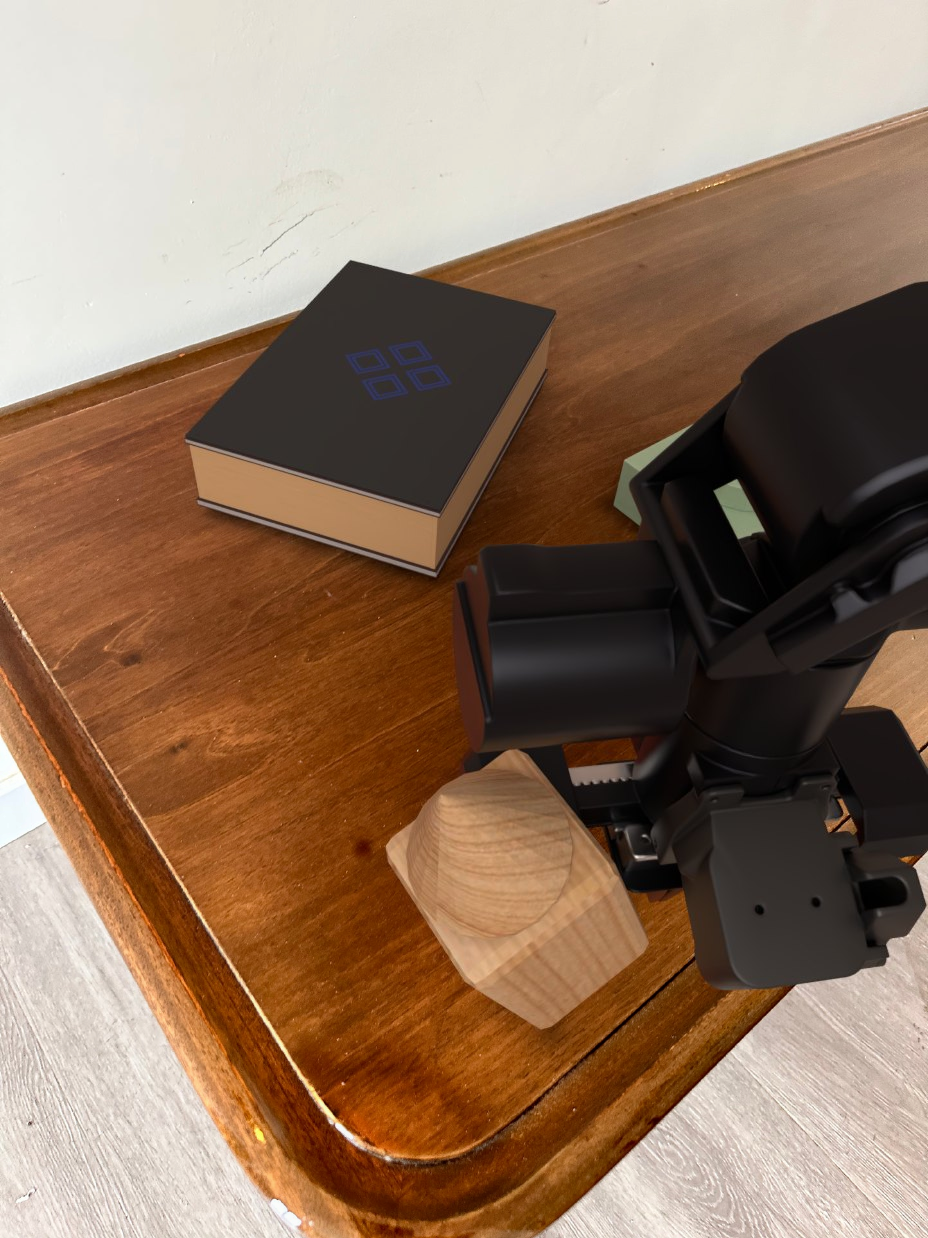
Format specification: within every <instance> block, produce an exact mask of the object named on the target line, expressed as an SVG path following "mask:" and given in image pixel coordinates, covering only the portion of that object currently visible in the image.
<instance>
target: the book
mask: <svg viewBox="0 0 928 1238" xmlns="http://www.w3.org/2000/svg"><path fill="white" fill-rule="evenodd" d="M556 315H557V310H556V309H552V308H549V307H545V306H540V305H537V304H533V303H528V302H524V301H519V300H517V299H512V298H509V297H508V298H507V297H504V296H500V295H497V294H496V295H495V294H492V293H488V292H484V291H480V290H475V289H470V288H467V287H463V286H458V285H455V284H450V283H446V282H443V281H439V280H434V279H430V278H426V277H422V276H418V275H414V274H409V273H407V272H402V271H397V270H393V269H389V268H386V267H381V266H377V265H373V264H369V263H365V262H361V261H357V260H353V259H349V260H348V262H347V263H346V264H345V265H343V267H342V268H340V270H339V271H338V272H337V273H336V274H335V275H334V276H333V277H332V279H330V280H329V282H328V283H327V284H326V285H325V286H324V287H323V288H322V289H321V290H320V291H319V292H318V293H317V295H315V297H313V298H312V300H311V301H310V302H309V303H308V304H307V305H306V306H305V307H304V308H303V309H302V311H300V312H299V314H297V316H296V317H295V318H294V319H293V320H291V322H290V323H289V324H288V325H287V326H286V327H285V329H283V331H281V333H280V334H279V335H278V336H277V337H276V338H275V339H274V340H273V342H271V343H270V344H269V346H268V347H267V348H266V349H265V350H264V351H263V352H262V353H260V355H259V356H258V357H257V358H256V359H255V360H254V361H253V362H252V363H251V364H250V365H249V366H248V368H247V369H246V370H245V371H243V373H242V374H241V375H240V376H239V377H238V378H237V379H236V380H235V381H234V382H233V384H232V385H231V386H229V388H227V390H226V391H225V392H224V393H223V394H222V395H221V396H220V397H219V398H218V400H216V401H215V403H214V404H213V405H212V406H211V407H210V408H209V409H208V410H207V411H206V412H205V413H204V414H203V415H202V417H200V418H199V420H197V422H196V423H195V424H194V425H193V426H192V427H191V428H190V429H188V431H187V432H186V433H185V435H184V438H183V439H184V440H185V443H184V444H185V445H188V447H189V452H190V458H191V463H192V467H193V473H194V479H195V484H196V489H197V494H198V496H197V497H196V501H197V503H196V504H197V506H200V507H203V508H206V509H209V510H212V511H216V512H218V513H223V514H225V515H229V516H232V517H235V518H237V519H238V518H239V519H241V520H244V521H248V522H251V523H255V524H258V525H262V526H265V527H268V528H271V529H275V530H278V531H281V532H284V533H287V534H291V535H294V536H296V537H300V538H304V539H307V540H310V541H313V542H317V543H319V544H322V545H323V544H324V545H326V546H329V547H333V548H336V549H339V550H341V551H346V552H349V553H353V554H356V555H359V556H363V557H366V558H368V559H372V560H376V561H379V562H381V563H386V564H388V565H392V566H395V567H399V568H401V569H405V570H408V571H410V572H411V571H412V572H414V573H418V574H421V575H424V576H427V577H431V578H433V579H437V578H438V576H439V575H440V572H441V570H442V569H443V567H444V565H445V563H446V561H447V560H448V558H449V556H450V554H451V553H452V550H453V549H454V547H455V545H456V543H457V541H458V540H459V538H460V536H461V534H462V532H463V530H464V528H465V527H466V524H467V523H468V521H469V519H470V518H471V516H472V514H473V513H474V510H475V508H476V506H477V505H478V503H479V501H480V499H481V498H482V495H484V492H485V490H486V488H487V486H488V484H489V483H490V481H491V479H492V477H493V476H494V474H495V472H496V470H497V468H498V466H499V465H500V463H501V461H502V459H503V457H504V456H505V453H506V451H507V449H509V446H510V445H511V442H512V441H513V439H514V437H515V435H516V434H517V431H518V430H519V428H520V426H521V424H522V422H523V420H524V419H525V418H526V417H525V416H526V415H527V413H528V412H529V410H530V408H531V406H532V404H533V402H534V400H535V399H536V397H537V395H538V393H539V391H540V389H541V387H542V386H543V384H544V382H545V380H546V379H547V376H548V371H549V368H547V363H548V356H549V347H550V341H551V334H552V328H553V323H554V322H555V320H556V319H557V316H556Z"/></svg>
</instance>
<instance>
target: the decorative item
mask: <svg viewBox="0 0 928 1238" xmlns="http://www.w3.org/2000/svg"><path fill="white" fill-rule="evenodd" d="M385 852H386V858H387V862H388V864H389V865H390V867H391V869H392V871H394V873H395V875H396V877H397V878H398V879H399V880H400V883H401V884H402V886H403V887H404V889H405V891H406V892H407V893H408V895H409V896H410V898H411V900H412V901H413V903H414V904H415V906H416V908H417V909H418V912H419V913H420V914H421V916H422V917H423V919H424V920H425V922H426V924H427V925H428V926H429V928H430V930H431V931H432V932H433V934H434V936H435V938H436V939H437V940H438V942H439V944H440V946H441V947H442V948H443V950H444V952H445V953H446V955H447V956H448V958H449V959H450V961H451V962H452V964H453V965H454V967H455V969H456V970H457V972H458V973H459V975H460V976H461V978H462V980H463V981H464V982H465V983H466V984H468V985H469V986H470V987H472V988H474V989H475V990H477V991H478V992H479V993H481V994H483V995H485V996H486V997H488V998H489V999H490V1000H493V1001H494V1002H495V1003H497V1004H499V1005H501V1006H502V1007H504V1008H506V1009H507V1010H508V1011H510V1012H512V1013H514V1014H515V1015H517V1016H518V1017H520V1018H522V1019H523V1020H525V1021H526V1022H528V1023H529V1024H531V1025H533V1026H534V1027H536V1028H537V1029H539V1030H543V1029H548V1028H552V1027H553V1026H555V1025H556V1024H557V1023H558V1022H559V1021H560V1020H562V1019H563V1018H565V1017H566V1016H567V1015H568V1014H569V1013H571V1012H572V1011H573V1010H574V1009H576V1008H577V1007H578V1006H579V1005H581V1004H582V1003H583V1002H584V1001H586V1000H587V999H588V998H590V997H591V996H592V995H593V994H594V993H596V992H597V991H598V990H599V989H600V988H602V987H603V986H604V985H606V984H607V983H608V982H609V981H611V980H612V979H613V978H614V977H616V976H617V975H618V974H620V973H621V971H623V970H625V969H626V967H628V966H629V965H631V964H632V963H633V962H634V961H636V960H637V959H638V958H639V957H640V956H642V955H643V954H644V953H645V952H646V949H647V948H648V946H649V944H650V942H649V938H648V933H647V931H646V929H645V927H644V924H643V922H642V920H641V918H640V916H639V914H638V911H637V908H636V907H635V905H634V903H633V900H632V898H631V896H630V894H629V891H628V890H627V889H626V887H625V885H624V882H623V880H622V878H621V876H620V874H619V871H618V869H617V867H616V865H615V863H614V862H613V860H612V859H611V856H610V854H608V853H607V852H606V850H605V849H604V847H602V845H601V844H600V843H599V841H598V840H597V839H596V838H595V836H594V835H593V834H592V833H591V831H590V829H589V828H586V827H585V825H584V824H583V823H582V822H581V820H580V819H579V818H578V817H577V815H576V814H575V813H574V812H573V810H572V809H571V808H570V807H569V805H568V804H567V803H566V802H565V800H564V799H563V798H562V797H561V795H560V794H559V793H558V792H557V790H556V789H555V788H554V787H553V785H552V784H551V783H550V782H549V780H548V779H547V778H546V777H545V775H544V774H543V773H542V772H541V770H540V769H539V768H538V767H537V765H536V764H535V763H534V762H533V760H532V759H531V758H530V757H529V755H528V754H526V753H524V752H522V751H520V750H518V749H513V750H508V751H506V752H504V753H502V754H501V755H500V756H498V757H497V758H496V759H494V760H493V761H492V762H491V763H489V764H488V765H487V766H485V767H484V768H483V769H481V770H480V771H476V772H471V773H466V774H463V775H462V776H460V777H459V776H458V777H457V778H455V779H453V780H450V781H449V782H447V783H445V784H444V785H442V786H440V788H439V789H437V791H436V792H435V793H434V794H433V795H432V796H431V797H430V798H429V799H428V800H427V801H426V802H425V803H424V804H423V806H422V808H421V809H420V811H419V813H418V815H417V816H416V818H415V819H414V820H413V821H411V822H410V823H409V824H407V826H405V827H404V828H402V829H401V830H399V832H397V833H396V834H394V835H393V836H391V838H390V839H389V841H388V842H387V844H386V845H385Z"/></svg>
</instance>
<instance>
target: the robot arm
mask: <svg viewBox="0 0 928 1238" xmlns="http://www.w3.org/2000/svg"><path fill="white" fill-rule="evenodd" d="M692 424H693V425H692ZM692 424H691V425H692V426H691V427H690V428H689V429H687V430H686V431H685V432H684V433H683V434H682V435H681V436H679V437H678V438H677V439H676V440H675V441H674V442H673V443H672V444H670V445H669V446H668V447H667V448H666V449H665V450H664V451H662V452H661V453H660V454H659V455H658V456H657V457H656V458H655V459H653V460H652V461H651V462H650V463H649V464H648V465H647V466H646V467H644V468H643V469H642V470H641V471H640V472H639V473H638V474H636V475H635V476H634V477H633V478H632V479H631V480H630V482H629V490H630V492H631V494H632V497H633V499H634V502H635V504H636V507H637V509H638V511H639V514H640V516H641V519H642V520H641V523H640V526H639V527H638V530H637V535H636V537H635V540H632V541H631V540H629V541H617V542H616V541H614V542H600V543H599V542H598V543H584V544H569V545H541V544H535V543H507V544H505V543H504V544H491V545H490V544H489V545H485V546H483V547H482V548H481V549H480V550H479V551H478V556H477V563H476V564H472V565H471V564H470V565H466V566H465V568H464V569H463V571H462V575H461V578H460V580H455V581H454V584H453V591H452V646H453V661H454V671H455V680H456V688H457V695H458V701H459V708H460V714H461V719H462V723H463V728H464V731H465V735H466V737H467V740H468V743H469V746H470V747H469V748H468V750H467V751H466V753H465V754H464V755H463V757H462V758H461V759H460V762H459V771H458V772H459V773H458V777H460V776H462V775H463V774H466V773H471V772H476V771H480V770H481V769H483V768H484V767H485V766H487V765H488V764H489V763H491V762H492V761H493V760H494V759H496V758H497V757H498V756H500V755H501V754H502V753H504V752H506V751H508V750H513V749H518V750H520V751H522V752H524V753H526V754H528V755H529V757H530V758H531V759H532V760H533V762H534V763H535V764H536V765H537V767H538V768H539V769H540V770H541V772H542V773H543V774H544V775H545V777H546V778H547V779H548V780H549V782H550V783H551V784H552V785H553V787H554V788H555V789H556V790H557V792H558V793H559V794H560V795H561V797H562V798H563V799H564V800H565V802H566V803H567V804H568V805H569V807H570V808H571V809H572V810H573V812H574V813H575V814H576V815H577V817H578V818H579V819H580V820H581V822H582V823H583V824H584V825H585V827H586V828H587V829H593V828H602V831H603V835H604V839H605V841H606V844H607V849H608V852H609V857H610V858H611V859H612V860H613V862H614V863H615V865H616V867H617V869H618V871H619V874H620V876H621V878H622V880H623V882H624V885H625V887H626V889H627V891H628V892H630V893H633V894H639V895H640V894H645V895H646V898H647V901H648V903H657V902H659V903H660V902H666V901H668V900H670V899H672V898H674V897H675V896H678V895H679V894H681V893H683V895H684V900H685V905H686V909H687V915H688V919H689V920H688V921H689V924H690V929H691V935H692V939H693V944H694V945H693V946H694V951H693V953H694V959H695V963H696V967H697V969H698V972H699V973H700V975H701V977H702V979H703V980H704V981H705V982H706V983H707V984H708V985H709V986H711V987H712V988H715V989H717V990H721V991H746V990H747V991H748V990H752V991H753V990H755V991H756V990H769V989H770V990H771V989H777V988H783V987H784V988H785V987H790V986H798V985H804V984H811V983H817V982H818V983H819V982H824V981H833V980H839V979H845V978H850V977H852V976H854V975H856V974H857V973H859V972H860V971H862V970H866V969H867V970H868V969H872V968H880V967H884V966H885V965H886V963H887V961H888V958H889V959H890V953H889V949H888V946H887V944H888V942H889V941H890V940H892V939H900V938H904V937H907V936H908V935H909V934H910V932H911V931H912V930H913V928H914V926H915V925H916V924H917V922H918V921H919V920H920V918H921V917H922V915H923V913H924V912H925V910H926V908H927V901H926V898H925V895H924V892H923V888H922V885H921V881H920V878H919V874H918V871H917V869H916V867H914V866H913V865H912V864H909V863H908V862H906V861H904V860H902V859H903V858H911V857H918V856H924V855H925V854H926V853H927V852H928V766H927V764H926V763H925V761H924V759H923V757H922V756H921V754H920V752H919V750H918V748H917V747H916V745H915V743H914V741H913V740H912V738H911V736H910V734H909V732H908V731H907V729H906V727H905V726H904V724H903V722H902V720H901V719H900V718H899V717H898V715H897V714H896V713H895V712H894V711H893V709H890V708H888V707H882V706H879V705H875V704H870V705H860V706H850V707H846V706H847V705H848V703H849V702H850V700H851V698H852V697H853V696H854V693H855V692H856V690H857V688H858V687H859V685H860V683H861V682H862V680H863V679H864V676H866V674H867V672H868V671H869V669H870V667H871V665H872V664H873V662H874V660H875V659H876V657H877V656H878V654H879V653H880V651H881V649H882V648H883V646H884V645H885V643H886V641H887V640H888V638H889V637H890V636H891V635H893V634H894V633H897V632H903V631H915V630H926V629H928V280H924V281H917V282H913V283H909V284H906V285H904V286H901V287H899V288H897V289H894V290H891V291H890V292H887V293H885V294H882V295H879V296H877V297H875V298H872V299H869V300H867V301H865V302H862V303H859V304H857V305H855V306H852V307H850V308H847V309H844V310H841V311H840V312H836V313H835V314H832V315H829V316H826V317H825V318H822V319H820V320H817V321H815V322H812V323H810V324H807V325H805V326H803V327H801V328H799V329H797V330H795V331H793V332H790V333H788V334H787V335H786V336H784V337H783V338H781V339H780V340H778V341H777V342H776V343H774V344H773V345H771V346H770V347H769V348H767V349H766V350H765V351H763V352H762V353H760V354H759V355H758V356H757V357H756V358H755V359H754V360H753V361H752V362H751V363H750V364H749V365H748V366H747V367H746V368H745V369H744V370H743V372H742V373H741V374H740V381H739V383H738V384H736V386H735V387H733V388H732V390H730V391H729V392H728V393H727V394H726V395H725V396H724V397H722V398H721V399H720V400H719V401H718V402H717V403H715V404H714V405H713V406H712V407H711V408H710V409H709V410H708V411H706V413H704V414H703V415H702V416H700V417H699V418H698V419H697V420H696V421H695V422H694V423H692ZM736 479H737V480H738V482H739V484H740V486H741V488H742V489H743V491H744V493H745V495H746V497H747V499H748V501H749V503H750V504H751V506H752V508H753V510H754V512H755V514H756V516H757V518H758V519H759V521H760V523H761V525H762V527H763V529H764V531H762V532H755V533H752V534H751V536H746V537H743V538H740V539H738V538H737V536H736V534H735V532H734V530H733V528H732V526H731V524H730V522H729V520H728V518H727V516H726V514H725V512H724V510H723V508H722V506H721V504H720V502H719V500H718V498H717V496H716V494H715V492H714V490H716V489H718V488H720V487H722V486H724V485H726V484H728V483H730V482H732V481H734V480H736ZM623 739H625V740H626V739H630V741H631V744H632V746H633V749H634V753H635V755H636V758H633V759H624V760H615V761H613V760H612V761H605V762H599V763H597V764H594V765H586V766H578V767H577V766H575V767H569V765H568V762H567V759H566V755H565V751H564V747H563V746H564V745H572V744H573V745H574V744H583V743H593V742H602V741H612V740H623ZM839 800H842V802H843V805H844V807H845V808H846V810H847V812H848V814H849V817H850V818H851V820H852V823H853V825H854V827H855V830H856V831H855V833H852V832H851V831H849V830H841V831H833V832H829V830H828V827H827V823H835V822H838V821H840V820H842V818H843V817H844V810H843V807H842V806H841V803H840V801H839Z"/></svg>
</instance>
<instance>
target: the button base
mask: <svg viewBox="0 0 928 1238" xmlns="http://www.w3.org/2000/svg"><path fill="white" fill-rule="evenodd" d="M693 424H694V423H692V424H690V425H688V426H686V427H684V428H682V429H680V430H678V431H677V432H674V433H673V434H671V435H669V436H667V437H665V438H663V439H661V440H659V441H658V442H655V443H654V444H652V445H649V446H648V447H646V448H644V449H642V450H640V451H638V452H636V453H634V454H633V455H631V456H629V457H627V458H625V459H624V460H623V463H622V466H621V472H620V475H619V480H618V483H617V488H616V492H615V497H614V501H613V507H614V508H616V509H617V510H618V511H619V512H621V513H622V514H623V515H625V516H626V517H627V518H629V519H630V520H631V521H632V522H634V523H635V524H636V525H637V526H639V527H640V523H641V520H642V519H641V516H640V514H639V511H638V509H637V507H636V504H635V502H634V499H633V497H632V494H631V492H630V490H629V482H630V480H631V479H632V478H633V477H634V476H635V475H636V474H638V473H639V472H640V471H641V470H642V469H643V468H644V467H646V466H647V465H648V464H649V463H650V462H651V461H652V460H653V459H655V458H656V457H657V456H658V455H659V454H660V453H661V452H662V451H664V450H665V449H666V448H667V447H668V446H669V445H670V444H672V443H673V442H674V441H675V440H676V439H677V438H678V437H679V436H681V435H682V434H683V433H684V432H685V431H686V430H687V429H689V428H690V427H691V426H692V425H693ZM714 492H715V494H716V496H717V498H718V500H719V502H720V504H721V506H722V508H723V510H724V512H725V514H726V516H727V518H728V520H729V522H730V524H731V526H732V528H733V530H734V532H735V534H736V536H737V538H738V539H740V538H743V537H746V536H751V534H752V533H755V532H762V531H764V529H763V527H762V525H761V523H760V521H759V519H758V518H757V516H756V514H755V512H754V510H753V508H752V506H751V504H750V503H749V501H748V499H747V497H746V495H745V493H744V491H743V489H742V488H741V486H740V484H739V482H738V480H737V479H736V480H734V481H732V482H730V483H728V484H726V485H724V486H722V487H720V488H718V489H716V490H714Z"/></svg>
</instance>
